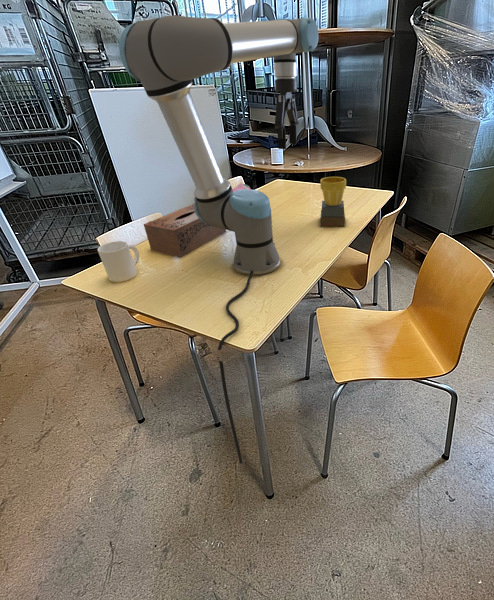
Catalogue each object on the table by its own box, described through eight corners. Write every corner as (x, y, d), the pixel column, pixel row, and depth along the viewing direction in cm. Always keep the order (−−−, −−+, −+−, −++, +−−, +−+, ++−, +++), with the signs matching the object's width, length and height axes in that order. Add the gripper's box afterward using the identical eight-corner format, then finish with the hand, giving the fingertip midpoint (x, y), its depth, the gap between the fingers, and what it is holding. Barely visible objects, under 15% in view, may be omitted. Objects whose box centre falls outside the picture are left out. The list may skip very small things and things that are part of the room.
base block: (344, 226, 138) (345, 217, 136) (320, 226, 139) (320, 217, 137) (343, 218, 146) (344, 209, 144) (321, 218, 147) (321, 209, 145)
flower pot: (316, 202, 140) (315, 178, 135) (337, 198, 144) (338, 175, 139) (327, 209, 132) (328, 183, 127) (350, 205, 136) (351, 180, 131)
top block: (343, 216, 136) (344, 207, 134) (321, 216, 137) (321, 207, 135) (343, 209, 144) (343, 200, 142) (322, 209, 144) (322, 200, 142)
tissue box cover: (180, 257, 117) (174, 230, 112) (151, 250, 123) (143, 224, 117) (226, 231, 137) (222, 207, 131) (198, 226, 142) (193, 203, 137)
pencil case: (234, 214, 154) (231, 194, 150) (216, 212, 157) (213, 193, 152) (254, 200, 171) (252, 182, 166) (238, 199, 174) (235, 181, 169)
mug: (134, 263, 114) (124, 235, 108) (151, 268, 111) (143, 238, 105) (103, 279, 105) (91, 249, 99) (121, 284, 102) (110, 254, 96)
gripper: (286, 79, 125) (288, 141, 136) (261, 77, 105) (266, 151, 116) (305, 78, 123) (306, 141, 135) (284, 77, 103) (287, 151, 114)
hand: (287, 146), depth 125 cm, fingers open, 13 cm apart
